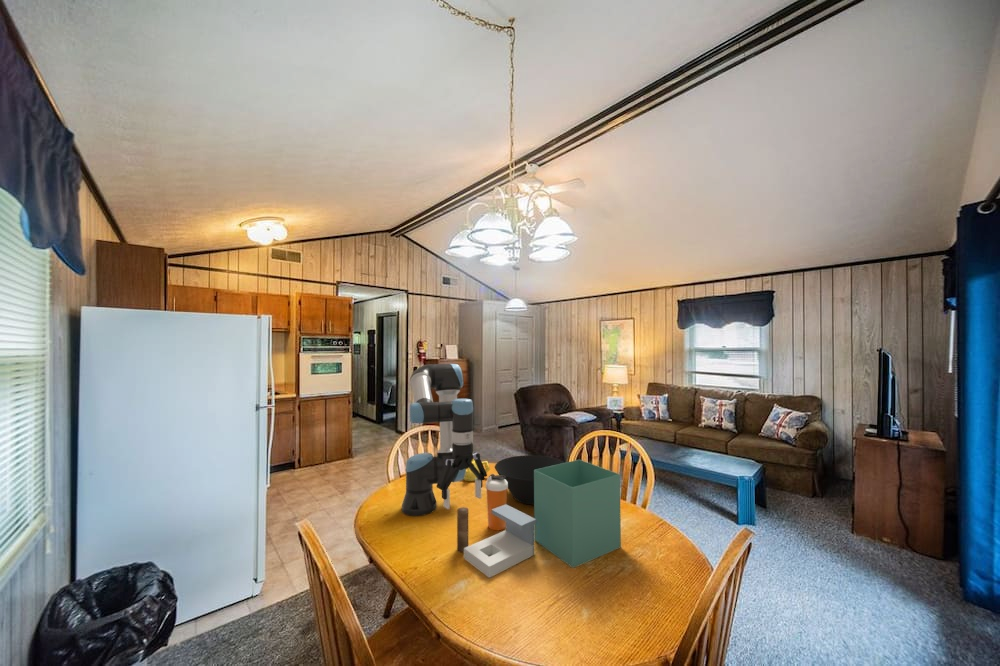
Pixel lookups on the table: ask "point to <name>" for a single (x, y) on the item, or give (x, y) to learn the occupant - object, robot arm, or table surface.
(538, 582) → the table surface
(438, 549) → the table surface
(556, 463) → the bowl
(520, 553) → the socket station
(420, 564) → the table surface
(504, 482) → the shaker bottle
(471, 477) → the teapot
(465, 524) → the peg
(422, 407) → the robot arm
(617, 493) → the box
